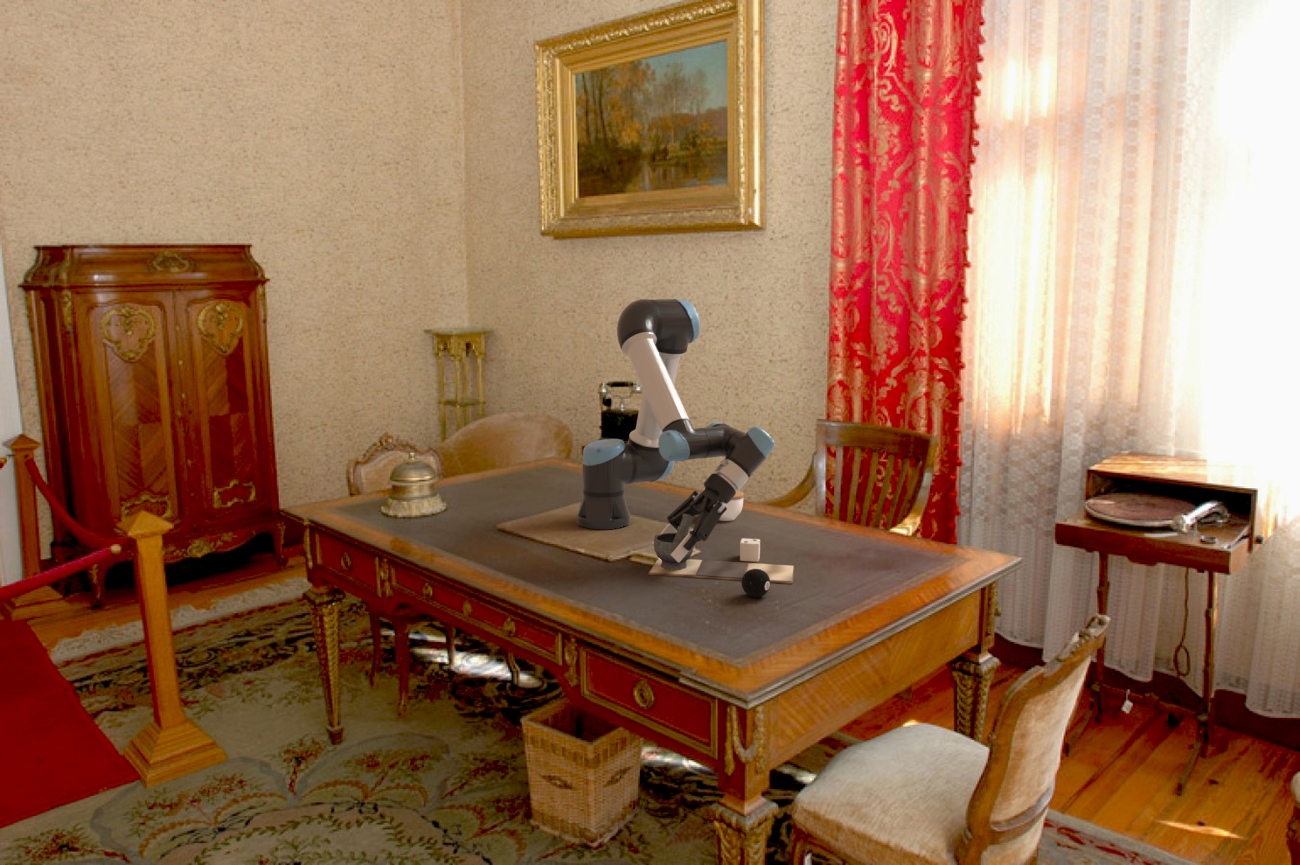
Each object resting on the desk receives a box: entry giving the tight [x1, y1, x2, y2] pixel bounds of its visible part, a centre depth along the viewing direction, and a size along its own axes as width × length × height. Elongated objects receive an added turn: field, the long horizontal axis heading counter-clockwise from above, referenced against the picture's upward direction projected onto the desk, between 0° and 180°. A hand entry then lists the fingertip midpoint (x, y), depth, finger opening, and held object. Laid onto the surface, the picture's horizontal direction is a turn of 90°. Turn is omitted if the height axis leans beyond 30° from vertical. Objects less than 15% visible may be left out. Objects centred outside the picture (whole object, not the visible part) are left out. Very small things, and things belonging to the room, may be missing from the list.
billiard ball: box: [741, 569, 771, 598], centre depth 194 cm, size 6×6×6 cm
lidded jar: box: [718, 490, 745, 522], centre depth 262 cm, size 11×11×9 cm
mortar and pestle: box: [653, 514, 695, 570], centre depth 214 cm, size 11×9×12 cm
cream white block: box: [739, 538, 761, 563], centre depth 222 cm, size 4×4×5 cm
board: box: [647, 558, 795, 585], centre depth 212 cm, size 33×13×1 cm, turn 79°
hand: (665, 552), depth 213 cm, fingers closed on mortar and pestle, 10 cm apart
